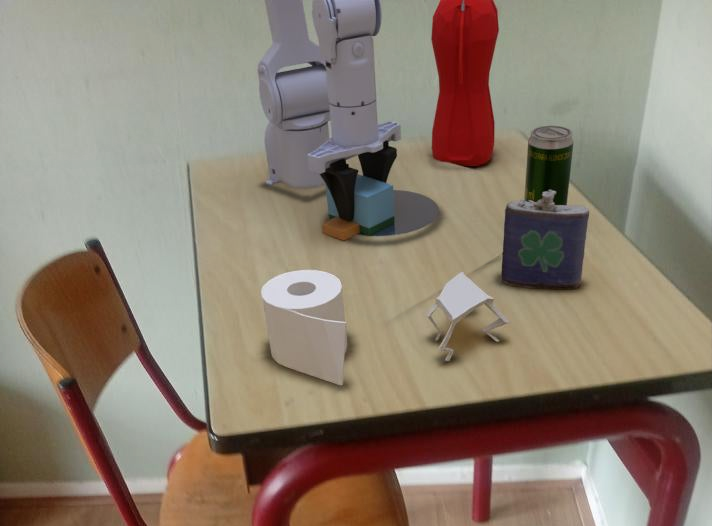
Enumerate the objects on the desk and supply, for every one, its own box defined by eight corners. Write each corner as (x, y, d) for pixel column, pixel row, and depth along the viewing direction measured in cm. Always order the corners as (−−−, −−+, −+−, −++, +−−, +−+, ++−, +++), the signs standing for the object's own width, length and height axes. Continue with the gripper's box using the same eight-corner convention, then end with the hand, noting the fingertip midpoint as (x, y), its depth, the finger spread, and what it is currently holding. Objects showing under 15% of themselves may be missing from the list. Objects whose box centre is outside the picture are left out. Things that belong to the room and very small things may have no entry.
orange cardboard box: (322, 232, 104) (321, 223, 103) (338, 224, 106) (337, 215, 105) (343, 241, 102) (343, 231, 101) (360, 232, 104) (359, 223, 103)
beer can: (572, 229, 104) (584, 131, 95) (544, 242, 101) (553, 143, 93) (541, 217, 107) (550, 121, 99) (513, 229, 104) (519, 133, 96)
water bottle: (427, 173, 120) (425, -25, 103) (436, 147, 128) (435, -41, 111) (490, 174, 119) (497, -27, 102) (495, 147, 126) (503, -43, 109)
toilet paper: (341, 385, 80) (335, 324, 76) (255, 356, 85) (244, 296, 80) (386, 347, 85) (382, 287, 80) (302, 321, 90) (294, 263, 85)
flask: (581, 280, 94) (592, 188, 86) (578, 292, 92) (590, 199, 84) (502, 274, 96) (507, 183, 89) (498, 285, 94) (502, 194, 87)
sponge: (329, 221, 107) (325, 183, 103) (354, 209, 109) (351, 172, 106) (369, 236, 103) (367, 197, 99) (394, 223, 105) (393, 185, 102)
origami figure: (515, 357, 83) (518, 314, 79) (435, 366, 82) (434, 323, 79) (490, 301, 91) (492, 260, 88) (417, 309, 91) (416, 268, 87)
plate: (305, 223, 109) (304, 216, 108) (381, 188, 117) (381, 181, 116) (386, 253, 101) (385, 246, 101) (461, 214, 109) (461, 206, 108)
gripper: (332, 123, 90) (342, 239, 99) (417, 90, 97) (419, 201, 107) (290, 111, 94) (304, 224, 103) (375, 80, 101) (381, 188, 110)
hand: (360, 212), depth 105 cm, fingers closed on sponge, 5 cm apart
